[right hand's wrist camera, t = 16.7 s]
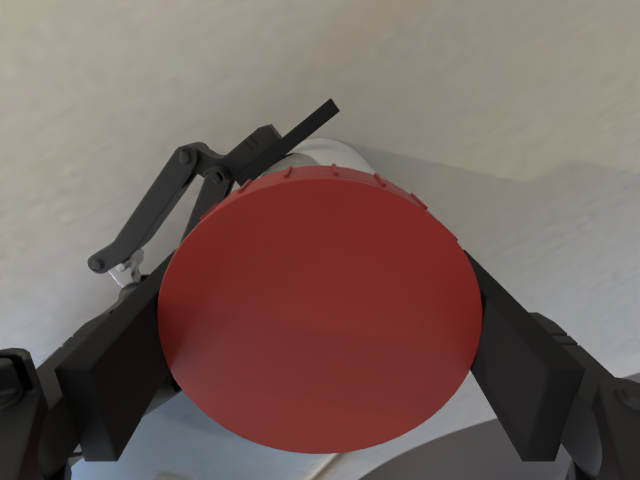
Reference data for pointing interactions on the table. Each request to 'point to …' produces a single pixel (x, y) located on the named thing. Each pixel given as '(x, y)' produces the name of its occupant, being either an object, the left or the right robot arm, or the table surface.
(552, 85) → the table surface
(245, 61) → the table surface
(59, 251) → the table surface
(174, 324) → the lid
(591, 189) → the table surface
